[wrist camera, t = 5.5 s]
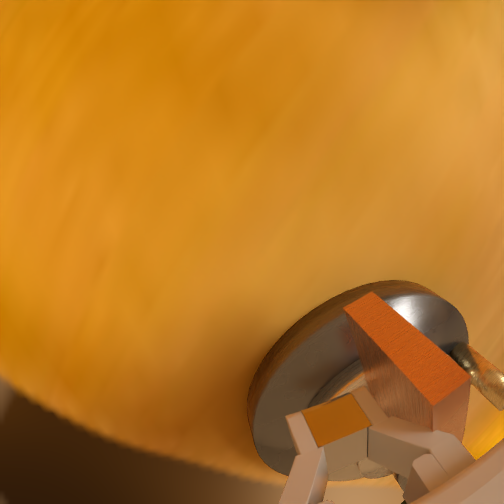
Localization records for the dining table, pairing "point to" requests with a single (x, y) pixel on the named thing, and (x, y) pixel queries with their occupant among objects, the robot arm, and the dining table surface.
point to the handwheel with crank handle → (349, 361)
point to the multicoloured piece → (398, 377)
